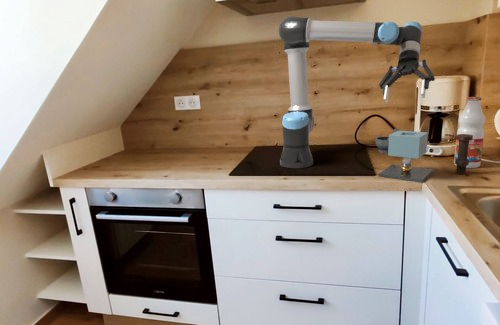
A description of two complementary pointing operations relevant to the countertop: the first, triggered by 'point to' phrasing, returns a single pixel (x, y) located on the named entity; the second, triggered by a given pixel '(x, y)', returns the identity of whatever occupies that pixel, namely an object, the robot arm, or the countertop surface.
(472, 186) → the countertop surface
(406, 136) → the sleeve
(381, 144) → the mortar and pestle
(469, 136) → the bolt
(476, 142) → the fruit juice
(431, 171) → the pipe stand
